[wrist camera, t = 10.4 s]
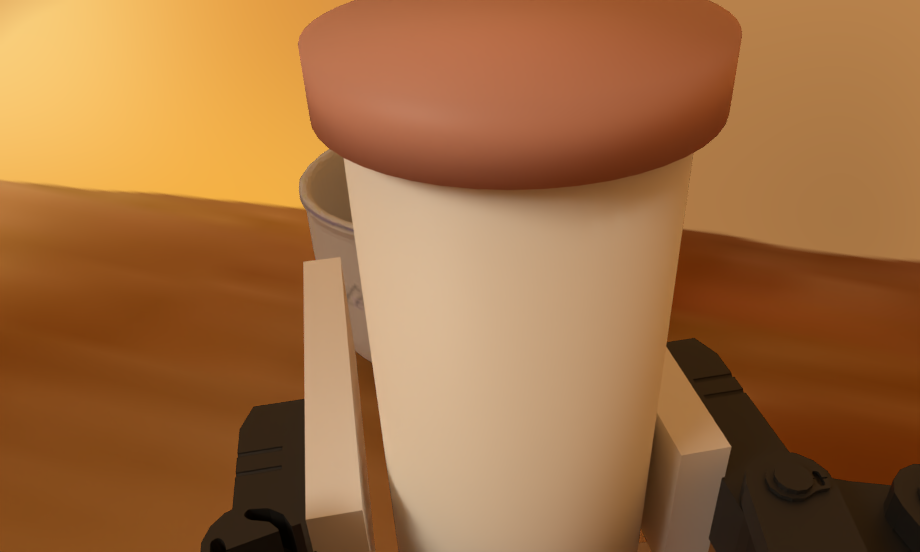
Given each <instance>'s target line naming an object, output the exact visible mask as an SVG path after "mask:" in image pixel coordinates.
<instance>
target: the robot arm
mask: <svg viewBox="0 0 920 552" xmlns="http://www.w3.org/2000/svg"><path fill="white" fill-rule="evenodd" d="M303 273H304V388H305V399H301V400H294V401H288V402H281V403H275V404H268V405H261V406H255V407H253V409H252V410H251V412H250V414H249V415H248V417H247V418H246V420H245V422H244V423H243V425H242V427H241V428H240V432H239V443H238V458H237V465H236V478H235V487H234V498H233V508H232V510H230V511H228V512H226V513H224V514H223V515H222V516H221V517H220V518H219V519H218V520H217V521H216V522H215V523H214V524H213V525H211V526H210V528H209V530H208V532H207V533H206V535H205V537H204V539H203V541H202V543H201V552H375V544H374V533H373V523H372V513H371V503H370V493H369V483H368V473H367V463H366V452H365V442H364V432H363V422H362V412H361V402H360V392H359V382H358V371H357V361H356V354H355V348H354V341H353V335H352V328H351V322H350V315H349V309H348V303H347V296H346V290H345V283H344V277H343V270H342V264H341V258H340V257H337V258H329V259H321V260H313V261H306V262H303ZM641 530H642V532H643V534H644V536H645V538H646V541H647V543H648V545H649V547H650V549H651V552H708V550H709V546H710V542H711V544H712V546H713V548H714V549H715V551H716V552H920V464H913V465H910V466H908V467H905V468H903V469H901V470H900V471H899V472H898V474H897V475H896V477H895V478H894V480H893V482H892V485H882V484H872V483H861V482H851V481H845V480H839V479H834V478H832V477H831V476H830V474H829V473H828V471H827V470H825V469H824V468H823V467H821V466H820V465H819V464H817V463H816V462H814V461H813V460H811V459H808V458H806V457H804V456H801V455H799V454H796V453H790V452H789V451H788V450H787V448H786V447H785V446H784V444H783V443H782V442H781V440H780V439H779V438H778V436H777V435H776V433H775V432H774V431H773V429H772V428H771V427H770V425H769V424H768V422H767V421H766V420H765V418H764V417H763V416H762V414H761V413H760V412H759V410H758V409H757V407H756V406H755V405H754V403H753V402H752V401H751V399H750V398H749V396H748V395H747V394H746V393H744V392H743V388H742V387H741V386H740V384H739V383H738V381H737V380H736V379H735V377H732V375H731V372H730V370H729V369H728V368H727V366H726V365H725V364H724V362H723V361H722V360H721V358H720V357H719V355H718V354H717V353H715V352H714V351H713V350H711V349H710V348H708V347H707V346H705V345H704V344H702V343H701V342H699V341H698V340H696V339H695V338H692V339H685V340H679V341H672V342H667V344H666V351H665V358H664V365H663V372H662V380H661V387H660V394H659V401H658V408H657V415H656V422H655V429H654V437H653V444H652V451H651V458H650V465H649V472H648V479H647V486H646V494H645V501H644V508H643V515H642V522H641Z"/></svg>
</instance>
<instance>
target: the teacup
mask: <svg viewBox="0 0 920 552" xmlns="http://www.w3.org/2000/svg"><path fill="white" fill-rule="evenodd" d="M299 193H300V200H301V202H302V204H303V206H304V208H305V209H306V211H307V215H308V221H309V227H310V233H311V238H312V244H313V249H314V254H315V259H316V260H321V259H329V258H337V257H340V258H341V264H342V270H343V277H344V283H345V290H346V296H347V303H348V309H349V315H350V322H351V328H352V335H353V341H354V348H355V351H356V352H357V353H358V354H360V355H361V356H362V357H364V358H365V359H367V360H368V361H370V362H371V363H372V358H371V350H370V343H369V336H368V329H367V322H366V315H365V308H364V301H363V293H362V286H361V279H360V272H359V265H358V258H357V251H356V243H355V236H354V229H353V222H352V215H351V208H350V201H349V193H348V186H347V179H346V172H345V165H344V158H343V157H341V156H340V155H338V154H337V153H335V152H334V151H332V150H331V149H329V150H327V151H326V152H324V153H323V154H321V155H320V156H319V157H318V158H317V159H316V160H315V161H314V162H312V163H311V164H310V165H309V166H308V168H307V169H306V171H305V172H304V173H303V175H302V176H301V178H300V184H299Z"/></svg>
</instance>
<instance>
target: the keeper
mask: <svg viewBox="0 0 920 552" xmlns="http://www.w3.org/2000/svg"><path fill="white" fill-rule="evenodd" d="M741 38H742V31H741V26H740V24H739V22H738V21H737V19H736V18H735V17H734V16H733V15H732V14H731V13H730V12H729V11H727V10H725V9H724V8H722V7H721V6H719V5H717V4H715V3H713V2H711V1H709V0H354V1H351V2H349V3H346V4H344V5H341V6H339V7H336V8H334V9H333V10H330V11H328V12H326V13H324V14H323V15H321V16H320V17H318V18H316V19H315V20H313V21H312V22H311V23H310V24H309V25H308V26H307V27H306V28H305V29H304V30H303V32H302V34H301V35H300V37H299V42H298V47H299V54H300V60H301V66H302V72H303V78H304V85H305V91H306V97H307V102H308V109H309V115H310V121H311V125H312V128H313V130H314V132H315V134H316V135H317V137H318V138H319V139H320V140H321V141H322V142H323V143H324V144H325V145H326V146H327V147H328V148H329V149H331V150H332V151H334V152H335V153H337V154H338V155H340V156H341V157H343V158H344V165H345V172H346V179H347V186H348V193H349V201H350V208H351V215H352V222H353V229H354V236H355V243H356V251H357V258H358V265H359V272H360V279H361V286H362V293H363V301H364V308H365V315H366V322H367V329H368V336H369V343H370V350H371V358H372V365H373V372H374V379H375V386H376V393H377V400H378V408H379V415H380V422H381V429H382V436H383V443H384V450H385V458H386V465H387V472H388V479H389V486H390V493H391V500H392V507H393V515H394V522H395V529H396V536H397V543H398V550H399V552H637V551H638V543H639V536H640V529H641V522H642V515H643V508H644V501H645V494H646V486H647V479H648V472H649V465H650V458H651V451H652V444H653V437H654V429H655V422H656V415H657V408H658V401H659V394H660V387H661V380H662V372H663V365H664V358H665V351H666V344H667V337H668V330H669V322H670V315H671V308H672V301H673V294H674V287H675V280H676V273H677V265H678V258H679V251H680V244H681V237H682V230H683V223H684V216H685V208H686V201H687V194H688V187H689V180H690V173H691V166H692V159H693V153H694V152H695V151H697V150H699V149H701V148H702V147H704V146H705V145H706V144H708V143H709V142H710V141H711V140H712V139H714V138H715V137H716V136H717V135H718V134H719V132H720V131H721V130H722V128H723V127H724V126H725V124H726V121H727V118H728V116H729V112H730V106H731V100H732V93H733V87H734V80H735V75H736V69H737V63H738V57H739V51H740V45H741Z"/></svg>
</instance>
